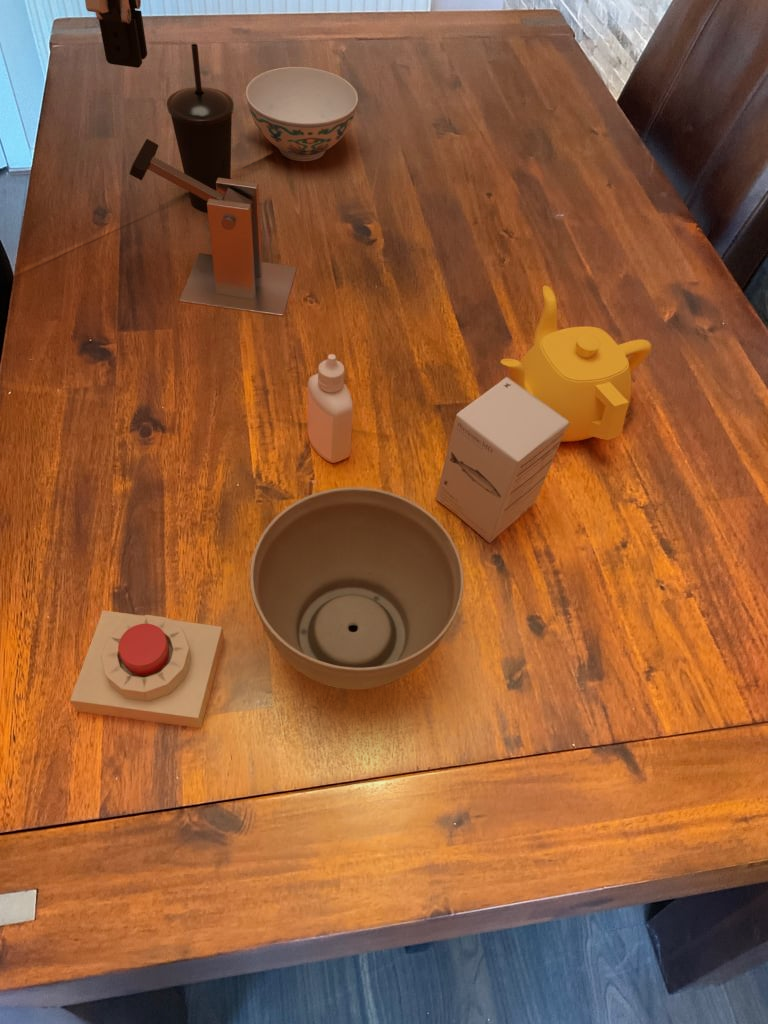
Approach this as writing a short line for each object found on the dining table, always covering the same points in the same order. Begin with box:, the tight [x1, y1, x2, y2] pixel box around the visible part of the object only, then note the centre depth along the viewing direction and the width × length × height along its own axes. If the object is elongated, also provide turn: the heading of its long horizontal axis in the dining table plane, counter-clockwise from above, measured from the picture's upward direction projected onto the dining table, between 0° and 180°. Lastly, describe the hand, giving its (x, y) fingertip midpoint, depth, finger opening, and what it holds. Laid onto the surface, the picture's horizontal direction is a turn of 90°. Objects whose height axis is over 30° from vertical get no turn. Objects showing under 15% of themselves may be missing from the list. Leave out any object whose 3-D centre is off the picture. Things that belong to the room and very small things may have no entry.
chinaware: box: [245, 66, 359, 162], centre depth 111 cm, size 15×15×8 cm
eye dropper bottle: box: [306, 353, 354, 464], centre depth 77 cm, size 4×6×12 cm
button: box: [118, 624, 169, 675], centre depth 62 cm, size 4×4×2 cm
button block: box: [69, 609, 225, 729], centre depth 64 cm, size 10×8×4 cm
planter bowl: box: [249, 486, 464, 690], centre depth 65 cm, size 16×16×11 cm
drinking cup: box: [166, 43, 235, 214], centre depth 96 cm, size 8×8×20 cm
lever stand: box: [178, 178, 298, 317], centre depth 89 cm, size 12×9×13 cm
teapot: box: [500, 285, 652, 443], centre depth 84 cm, size 14×13×10 cm
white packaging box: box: [435, 376, 569, 544], centre depth 74 cm, size 7×7×13 cm
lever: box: [129, 138, 252, 204], centre depth 84 cm, size 12×5×2 cm, turn 83°
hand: (127, 59), depth 74 cm, fingers closed
